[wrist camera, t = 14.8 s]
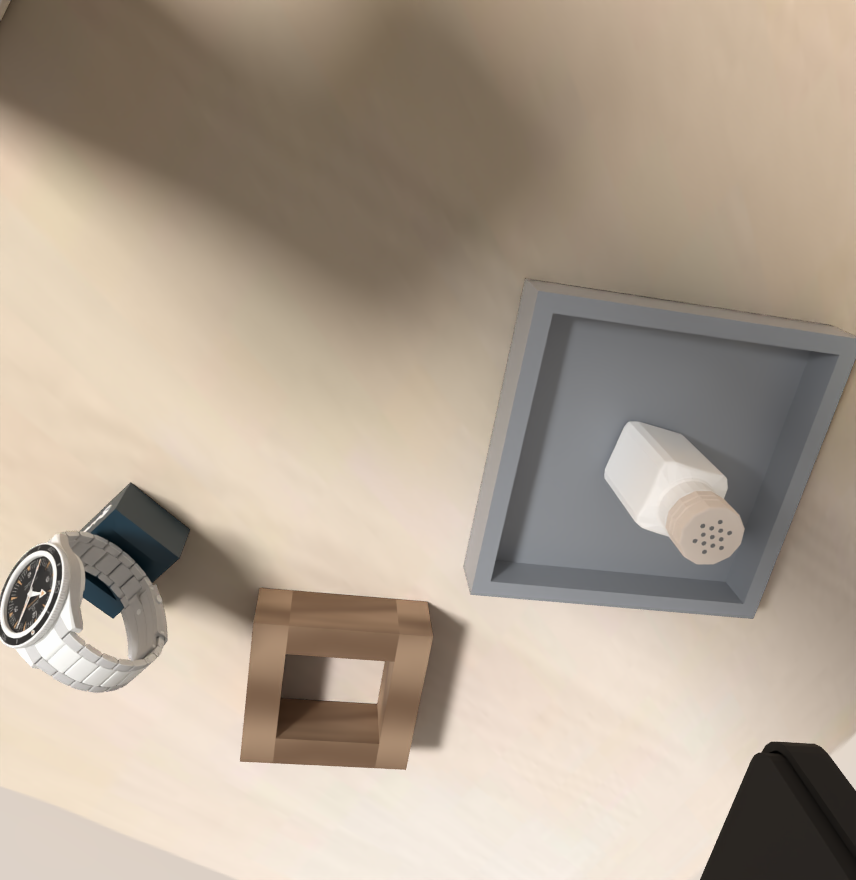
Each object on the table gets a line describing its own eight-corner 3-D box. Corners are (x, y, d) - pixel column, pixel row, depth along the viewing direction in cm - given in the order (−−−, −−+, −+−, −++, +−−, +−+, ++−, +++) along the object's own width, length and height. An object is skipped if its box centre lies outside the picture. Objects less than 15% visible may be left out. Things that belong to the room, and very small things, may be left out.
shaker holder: (259, 587, 47) (253, 623, 43) (427, 601, 48) (433, 636, 45) (246, 720, 51) (240, 761, 47) (402, 728, 52) (405, 769, 49)
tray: (525, 278, 41) (538, 290, 38) (830, 324, 43) (863, 339, 41) (463, 566, 47) (470, 594, 45) (731, 590, 50) (753, 618, 48)
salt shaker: (657, 491, 46) (729, 580, 37) (597, 475, 45) (657, 562, 36) (685, 432, 45) (768, 510, 36) (624, 414, 44) (693, 490, 35)
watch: (101, 459, 42) (26, 568, 32) (213, 547, 45) (175, 672, 35) (37, 522, 44) (-56, 646, 34) (150, 605, 46) (95, 741, 36)
